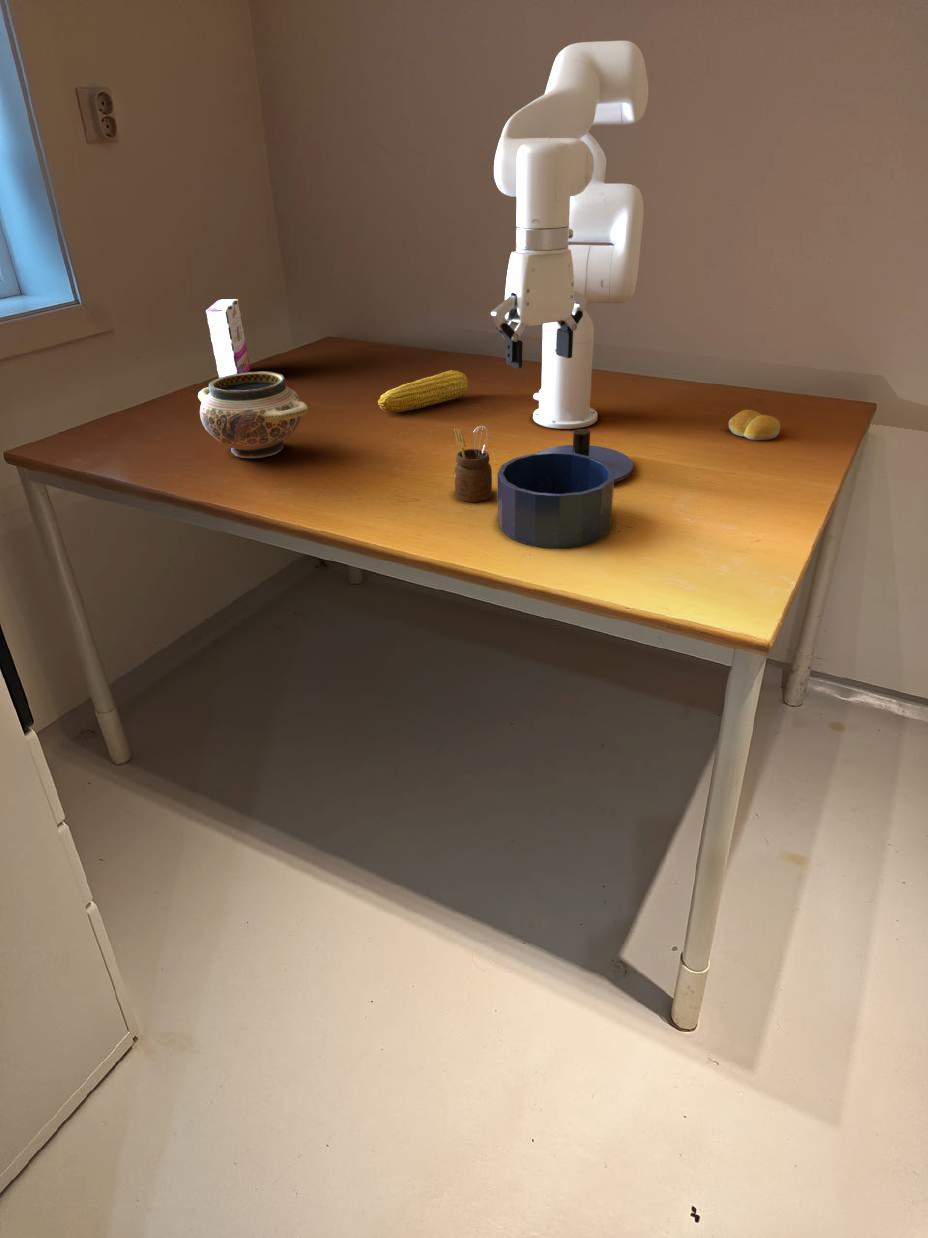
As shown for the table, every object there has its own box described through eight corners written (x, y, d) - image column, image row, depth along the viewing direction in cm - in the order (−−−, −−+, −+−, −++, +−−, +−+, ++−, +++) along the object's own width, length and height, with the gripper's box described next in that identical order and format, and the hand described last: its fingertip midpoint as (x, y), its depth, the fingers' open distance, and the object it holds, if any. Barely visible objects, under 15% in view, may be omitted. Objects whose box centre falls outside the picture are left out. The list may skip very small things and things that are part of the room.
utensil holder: (499, 494, 135) (499, 421, 129) (473, 507, 131) (471, 432, 125) (472, 485, 138) (471, 414, 132) (446, 497, 135) (443, 424, 128)
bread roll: (763, 444, 151) (767, 423, 149) (721, 432, 157) (724, 411, 154) (788, 433, 155) (792, 412, 153) (746, 422, 161) (749, 401, 159)
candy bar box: (230, 370, 202) (218, 299, 194) (251, 369, 202) (239, 298, 194) (218, 383, 193) (204, 309, 184) (239, 383, 193) (227, 308, 184)
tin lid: (508, 465, 146) (508, 427, 142) (587, 444, 153) (589, 408, 150) (571, 498, 133) (573, 458, 129) (654, 473, 141) (658, 435, 137)
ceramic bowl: (332, 466, 155) (337, 383, 149) (255, 473, 141) (259, 381, 136) (245, 441, 168) (248, 364, 163) (167, 445, 154) (168, 360, 149)
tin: (477, 517, 128) (476, 467, 124) (563, 491, 135) (565, 444, 131) (542, 559, 116) (544, 505, 112) (633, 528, 123) (638, 477, 119)
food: (456, 393, 182) (455, 365, 179) (472, 399, 178) (471, 370, 175) (373, 413, 171) (371, 384, 168) (389, 420, 167) (386, 391, 164)
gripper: (571, 232, 127) (567, 348, 136) (477, 243, 119) (479, 365, 128) (605, 237, 122) (598, 357, 130) (509, 248, 114) (508, 375, 122)
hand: (539, 361), depth 129 cm, fingers open, 9 cm apart
